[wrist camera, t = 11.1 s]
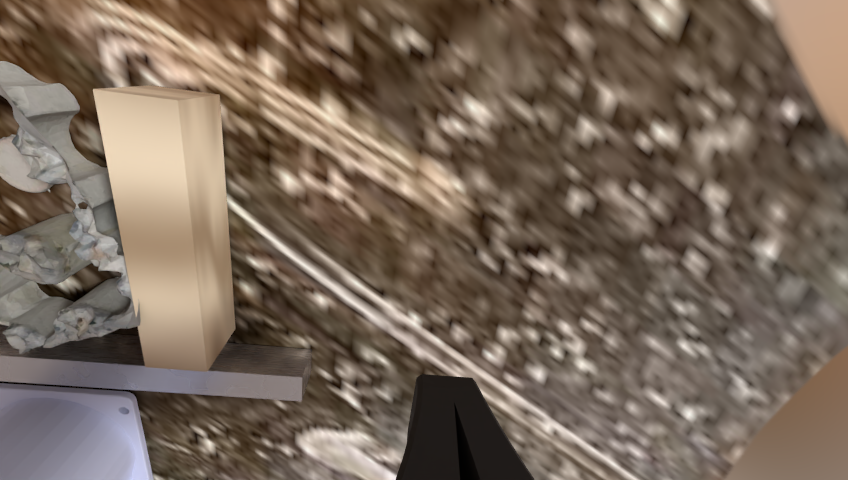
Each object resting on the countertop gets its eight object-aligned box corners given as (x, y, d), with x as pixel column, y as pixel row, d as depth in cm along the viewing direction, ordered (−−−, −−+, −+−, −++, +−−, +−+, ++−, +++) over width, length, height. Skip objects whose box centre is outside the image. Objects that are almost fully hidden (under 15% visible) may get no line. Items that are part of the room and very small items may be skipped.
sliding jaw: (235, 328, 19) (207, 371, 17) (182, 324, 19) (145, 367, 16) (219, 94, 15) (177, 100, 12) (150, 85, 15) (92, 89, 12)
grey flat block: (310, 372, 21) (296, 418, 18) (-63, 344, 19) (-142, 390, 16) (317, 107, 15) (299, 116, 13) (-200, 37, 14) (-351, 29, 11)
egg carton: (-117, 94, 15) (-296, 101, 11) (65, 43, 14) (-56, 32, 11) (53, 321, 19) (-34, 382, 15) (198, 287, 19) (145, 341, 15)
